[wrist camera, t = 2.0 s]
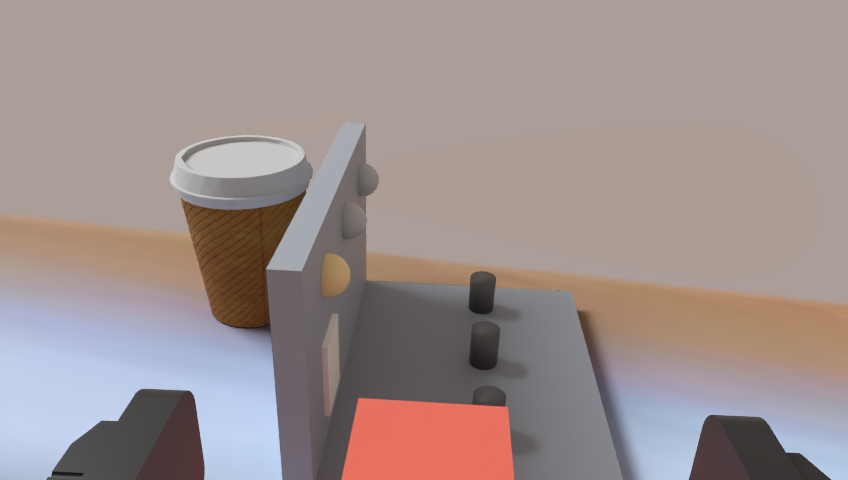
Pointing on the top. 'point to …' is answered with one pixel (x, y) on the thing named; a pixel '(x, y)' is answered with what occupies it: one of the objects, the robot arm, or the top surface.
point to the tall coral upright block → (428, 442)
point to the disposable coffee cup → (239, 216)
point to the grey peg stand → (418, 343)
